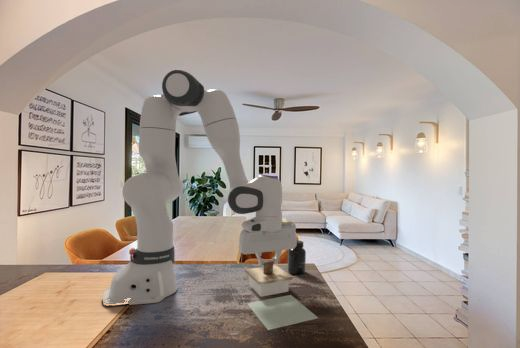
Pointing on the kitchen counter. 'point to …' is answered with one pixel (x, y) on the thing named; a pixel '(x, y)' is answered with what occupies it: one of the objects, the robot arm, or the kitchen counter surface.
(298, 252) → the supplement bottle
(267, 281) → the oak lid
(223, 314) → the kitchen counter surface
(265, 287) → the white open box
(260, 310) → the sage mat
